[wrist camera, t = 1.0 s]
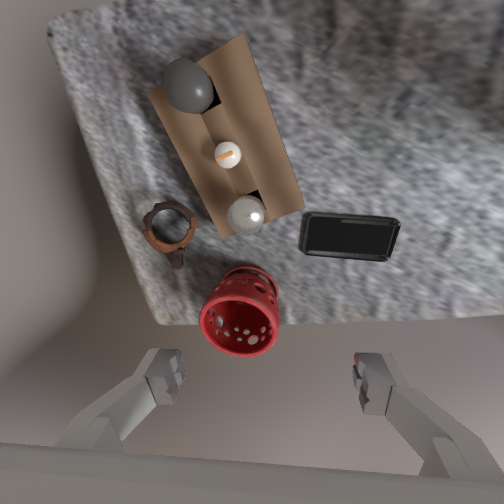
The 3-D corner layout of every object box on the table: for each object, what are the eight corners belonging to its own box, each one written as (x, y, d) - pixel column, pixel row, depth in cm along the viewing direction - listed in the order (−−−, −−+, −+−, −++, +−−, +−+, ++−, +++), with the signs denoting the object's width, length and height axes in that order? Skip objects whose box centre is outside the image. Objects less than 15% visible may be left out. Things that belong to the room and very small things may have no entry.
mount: (249, 46, 32) (243, 32, 27) (303, 199, 40) (305, 207, 35) (164, 98, 36) (146, 93, 31) (228, 228, 44) (222, 238, 39)
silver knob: (260, 182, 35) (254, 193, 29) (272, 211, 36) (269, 227, 30) (232, 195, 36) (220, 207, 30) (244, 222, 38) (236, 239, 31)
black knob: (212, 66, 29) (192, 48, 23) (228, 106, 31) (214, 99, 25) (181, 85, 31) (154, 73, 24) (198, 122, 32) (177, 120, 26)
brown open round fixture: (140, 212, 45) (129, 207, 37) (190, 199, 47) (189, 191, 39) (161, 272, 47) (155, 279, 39) (208, 257, 49) (212, 261, 41)
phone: (388, 262, 42) (301, 254, 43) (386, 259, 43) (301, 252, 44) (402, 219, 38) (307, 212, 40) (399, 217, 40) (307, 210, 41)
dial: (236, 137, 32) (231, 137, 30) (245, 160, 34) (242, 162, 31) (215, 147, 33) (209, 148, 31) (225, 169, 34) (221, 172, 32)
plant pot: (251, 246, 45) (240, 281, 34) (293, 293, 48) (295, 339, 38) (203, 281, 50) (181, 321, 39) (245, 321, 53) (234, 369, 43)
